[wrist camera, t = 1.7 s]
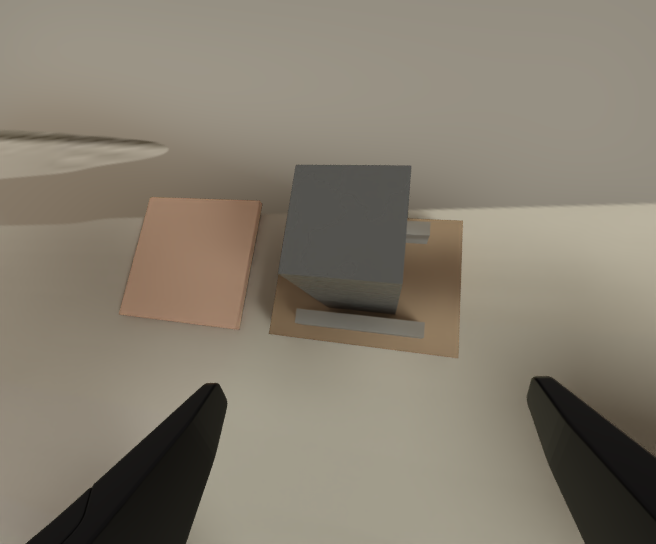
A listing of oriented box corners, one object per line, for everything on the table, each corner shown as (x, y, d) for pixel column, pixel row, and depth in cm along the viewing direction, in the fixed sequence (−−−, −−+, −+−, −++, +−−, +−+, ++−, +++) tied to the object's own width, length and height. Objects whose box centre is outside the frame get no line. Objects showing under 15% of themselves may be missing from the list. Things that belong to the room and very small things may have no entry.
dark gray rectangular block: (395, 314, 18) (402, 283, 9) (328, 307, 19) (278, 273, 10) (401, 239, 19) (412, 149, 10) (337, 236, 20) (298, 149, 11)
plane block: (447, 356, 20) (464, 359, 15) (284, 335, 22) (259, 332, 18) (452, 237, 21) (469, 210, 17) (300, 229, 24) (281, 203, 19)
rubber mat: (239, 329, 23) (235, 329, 22) (124, 315, 25) (118, 314, 24) (262, 204, 25) (259, 200, 24) (155, 200, 27) (150, 197, 26)
